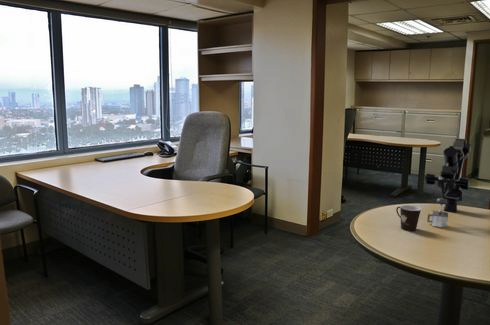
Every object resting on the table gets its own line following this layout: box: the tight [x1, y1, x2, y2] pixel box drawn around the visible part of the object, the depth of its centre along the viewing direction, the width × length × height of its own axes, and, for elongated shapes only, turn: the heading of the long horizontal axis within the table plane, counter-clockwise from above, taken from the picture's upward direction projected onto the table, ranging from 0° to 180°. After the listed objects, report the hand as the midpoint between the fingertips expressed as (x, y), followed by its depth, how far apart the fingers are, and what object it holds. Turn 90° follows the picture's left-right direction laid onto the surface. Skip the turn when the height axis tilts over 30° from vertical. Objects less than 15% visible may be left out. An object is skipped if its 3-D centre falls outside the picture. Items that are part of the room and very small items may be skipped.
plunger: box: [436, 197, 447, 214], centre depth 185 cm, size 5×5×8 cm
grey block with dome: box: [426, 210, 449, 229], centre depth 187 cm, size 7×8×6 cm
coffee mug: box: [395, 204, 422, 232], centre depth 182 cm, size 12×9×10 cm
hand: (443, 195), depth 186 cm, fingers closed
